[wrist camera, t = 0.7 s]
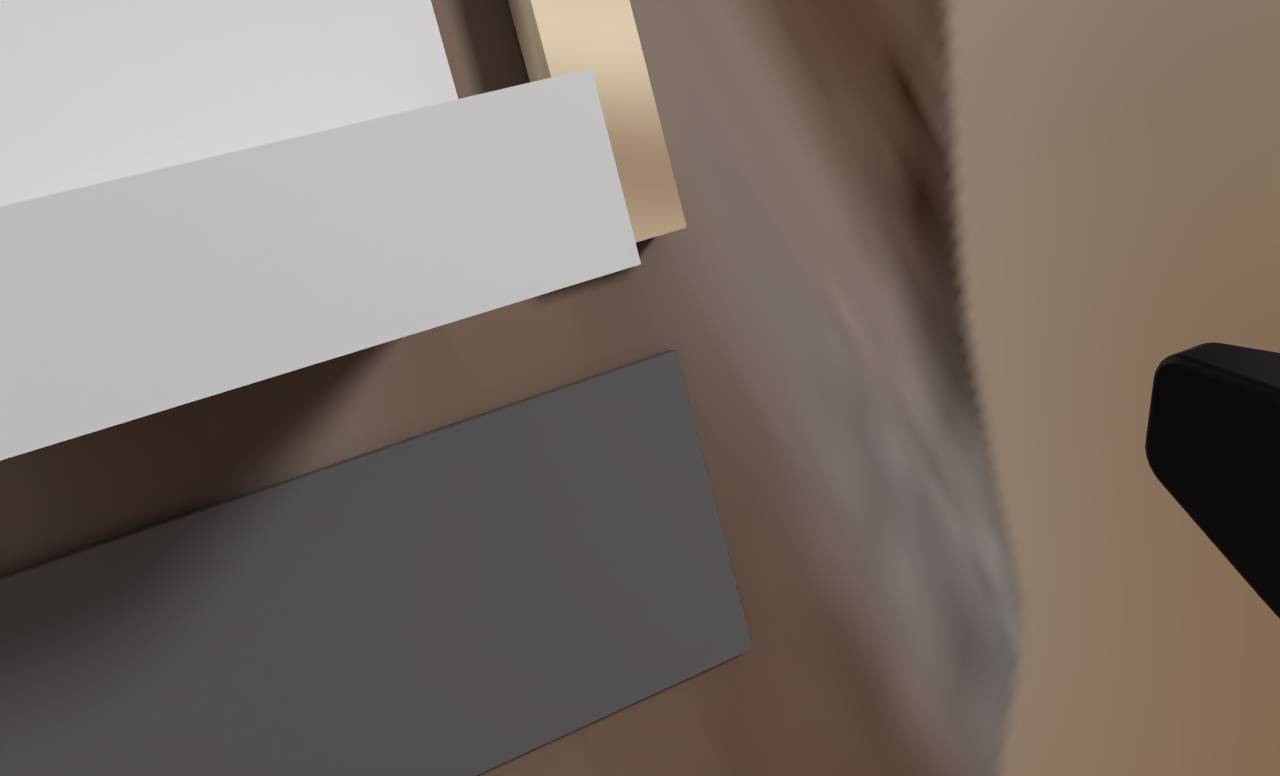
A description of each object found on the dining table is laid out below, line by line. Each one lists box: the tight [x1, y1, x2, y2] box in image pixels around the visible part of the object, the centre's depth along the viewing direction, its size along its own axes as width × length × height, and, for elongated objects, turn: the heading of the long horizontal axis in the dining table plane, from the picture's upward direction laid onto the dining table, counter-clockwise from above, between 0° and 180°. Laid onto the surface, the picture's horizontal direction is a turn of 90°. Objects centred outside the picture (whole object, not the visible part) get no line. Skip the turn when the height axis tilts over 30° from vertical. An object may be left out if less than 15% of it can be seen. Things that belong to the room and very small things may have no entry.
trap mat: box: [0, 350, 753, 776], centre depth 23 cm, size 7×16×1 cm, turn 106°
